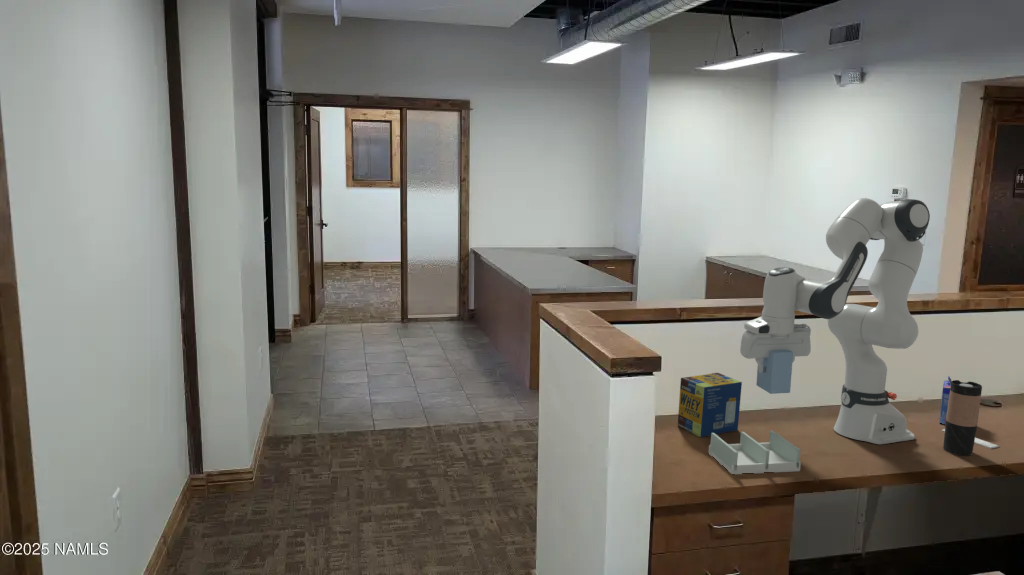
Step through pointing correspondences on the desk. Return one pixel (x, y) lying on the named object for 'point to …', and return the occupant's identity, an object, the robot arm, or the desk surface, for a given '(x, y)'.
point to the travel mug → (962, 417)
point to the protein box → (709, 404)
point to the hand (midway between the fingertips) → (774, 371)
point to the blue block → (776, 372)
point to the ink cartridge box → (945, 400)
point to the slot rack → (756, 454)
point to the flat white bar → (983, 443)
